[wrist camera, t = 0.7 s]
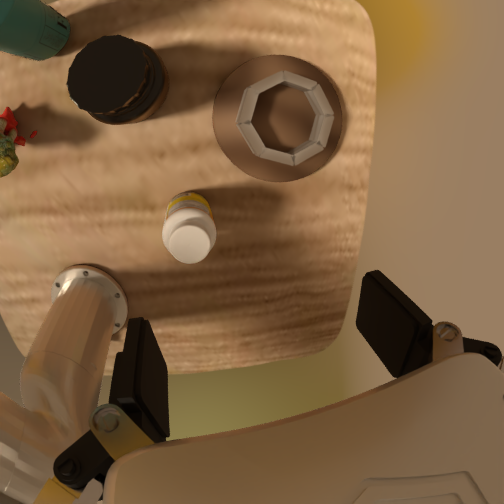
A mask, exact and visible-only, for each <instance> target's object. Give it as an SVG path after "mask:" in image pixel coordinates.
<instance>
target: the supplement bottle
mask: <svg viewBox="0 0 504 504" xmlns="http://www.w3.org/2000/svg"><path fill="white" fill-rule="evenodd" d="M162 237H163V242H164V245H165V247H166V248H167V250H168V251H169V252H170V253H171V254H172V255H173V257H174V258H175V259H177V260H178V261H180V262H182V263H186V264H193V263H197V262H199V261H201V260H203V259H204V258H205V257H206V256H207V254H208V253H209V251H210V250H211V249H212V247H213V246H214V244H215V241H216V227H215V223H214V219H213V216H212V212H211V209H210V206H209V203H208V202H207V200H206V199H205V198H204V197H203V196H202V195H200V194H198V193H195V192H183V193H180V194H178V195H176V196H175V197H174V198H173V199H172V200H171V201H170V203H169V204H168V207H167V211H166V215H165V220H164V225H163V230H162Z"/></svg>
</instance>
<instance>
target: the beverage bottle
mask: <svg viewBox="0 0 504 504" xmlns="http://www.w3.org/2000/svg"><path fill="white" fill-rule="evenodd" d="M69 34H70V25H69V22H68V20H67V19H66V18H65V17H64V16H62V15H61V14H60V13H58V12H57V10H56V11H55V10H54V8H52V7H51V6H47V5H46V4H44V3H42V2H41V1H40V0H0V51H4V52H7V53H10V54H15V55H17V56H18V55H19V56H20V57H21V56H23V58H26V57H27V58H31V59H34V60H38V61H40V60H45V59H48V58H51V57H52V56H54V55H55V54H57V53H58V52H59V51H60V50H61V49H62V48H63V47H64V45H65V44H66V42H67V40H68V37H69ZM2 53H3V52H2ZM21 58H22V57H21ZM31 59H30V60H31ZM34 60H33V61H34Z"/></svg>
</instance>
